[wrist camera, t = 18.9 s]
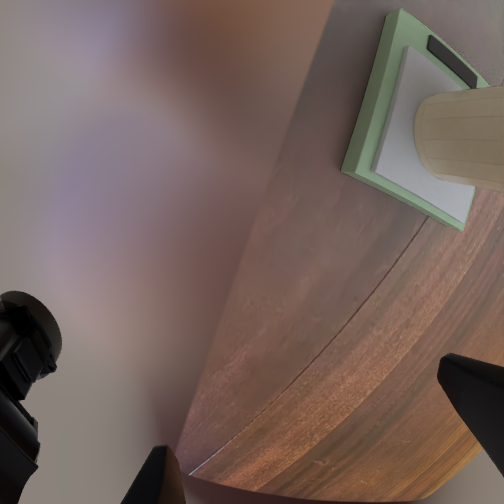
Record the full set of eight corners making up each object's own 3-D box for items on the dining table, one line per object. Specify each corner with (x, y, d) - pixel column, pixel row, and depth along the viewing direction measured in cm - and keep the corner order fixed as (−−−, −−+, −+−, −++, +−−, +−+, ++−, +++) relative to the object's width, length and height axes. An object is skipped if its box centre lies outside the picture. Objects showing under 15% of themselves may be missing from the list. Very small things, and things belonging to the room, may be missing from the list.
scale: (447, 226, 23) (468, 233, 21) (339, 171, 20) (359, 173, 18) (478, 91, 21) (498, 89, 18) (385, 14, 17) (405, 4, 15)
